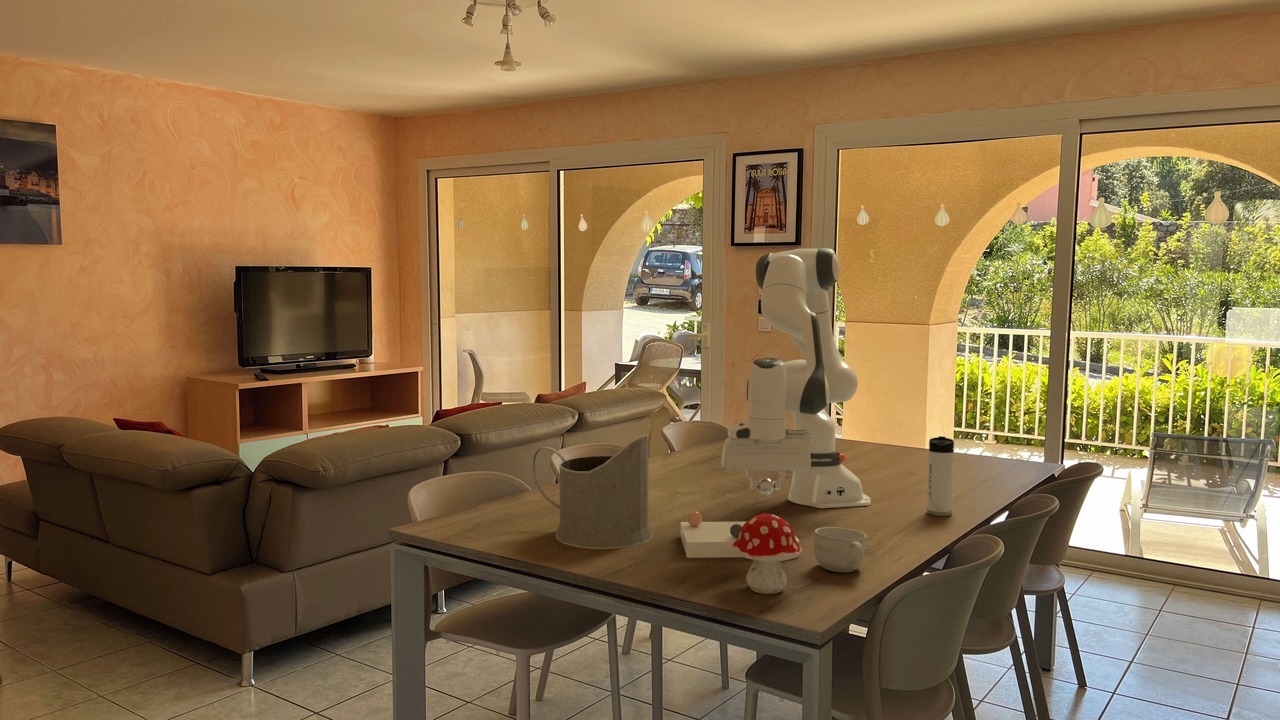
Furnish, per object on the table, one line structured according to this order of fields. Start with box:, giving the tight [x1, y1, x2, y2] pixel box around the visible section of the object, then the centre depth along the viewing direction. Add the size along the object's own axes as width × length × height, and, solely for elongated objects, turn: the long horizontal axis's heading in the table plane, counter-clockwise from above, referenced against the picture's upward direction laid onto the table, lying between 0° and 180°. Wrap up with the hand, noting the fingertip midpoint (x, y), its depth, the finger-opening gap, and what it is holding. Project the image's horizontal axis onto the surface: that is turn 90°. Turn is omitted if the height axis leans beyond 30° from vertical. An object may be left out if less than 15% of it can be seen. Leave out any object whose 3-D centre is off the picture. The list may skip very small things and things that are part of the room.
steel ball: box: [757, 477, 774, 496], centre depth 211 cm, size 4×4×4 cm
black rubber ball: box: [730, 524, 742, 538], centre depth 206 cm, size 3×3×3 cm
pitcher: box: [531, 434, 654, 550], centre depth 222 cm, size 23×32×25 cm
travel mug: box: [926, 435, 955, 517], centre depth 241 cm, size 6×7×20 cm
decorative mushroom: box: [732, 513, 803, 595], centre depth 182 cm, size 14×14×15 cm
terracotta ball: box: [686, 510, 703, 526], centre depth 216 cm, size 4×4×4 cm
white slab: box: [680, 521, 800, 559], centre depth 212 cm, size 25×17×4 cm
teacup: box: [813, 526, 868, 573], centre depth 194 cm, size 14×11×8 cm
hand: (765, 489), depth 211 cm, fingers closed on steel ball, 4 cm apart
